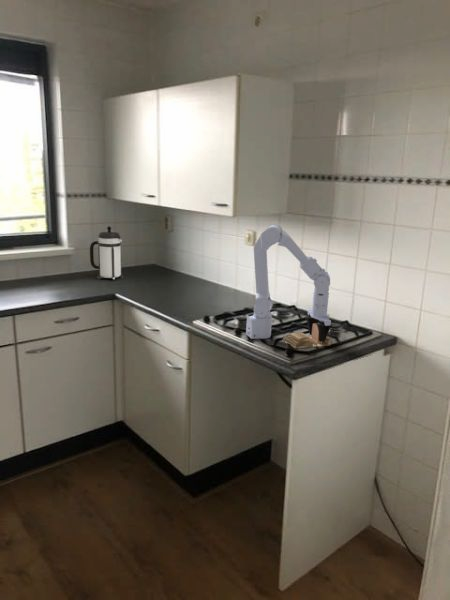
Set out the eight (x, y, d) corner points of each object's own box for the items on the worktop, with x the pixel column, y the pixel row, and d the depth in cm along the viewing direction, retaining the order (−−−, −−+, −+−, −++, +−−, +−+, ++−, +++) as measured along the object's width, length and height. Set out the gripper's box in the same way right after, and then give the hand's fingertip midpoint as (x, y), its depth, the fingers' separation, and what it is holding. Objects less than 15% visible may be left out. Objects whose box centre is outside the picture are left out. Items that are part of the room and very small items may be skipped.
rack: (294, 350, 181) (294, 342, 180) (282, 341, 190) (283, 333, 189) (329, 347, 185) (330, 339, 184) (317, 338, 194) (317, 330, 194)
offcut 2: (295, 347, 182) (295, 342, 181) (286, 339, 189) (286, 335, 189) (312, 345, 184) (312, 341, 183) (302, 338, 191) (302, 334, 191)
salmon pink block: (317, 343, 186) (318, 327, 184) (311, 339, 191) (312, 323, 189) (322, 343, 187) (323, 327, 185) (315, 338, 191) (317, 323, 190)
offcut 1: (298, 342, 182) (298, 338, 181) (289, 337, 187) (289, 333, 187) (309, 340, 184) (309, 336, 184) (300, 335, 189) (300, 332, 189)
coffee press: (120, 274, 293) (119, 224, 285) (126, 280, 279) (125, 227, 271) (90, 276, 286) (88, 224, 278) (95, 282, 272) (93, 228, 264)
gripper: (339, 308, 179) (335, 343, 183) (320, 298, 193) (317, 331, 196) (322, 309, 177) (319, 344, 181) (304, 299, 190) (301, 332, 194)
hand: (317, 337), depth 188 cm, fingers open, 7 cm apart
